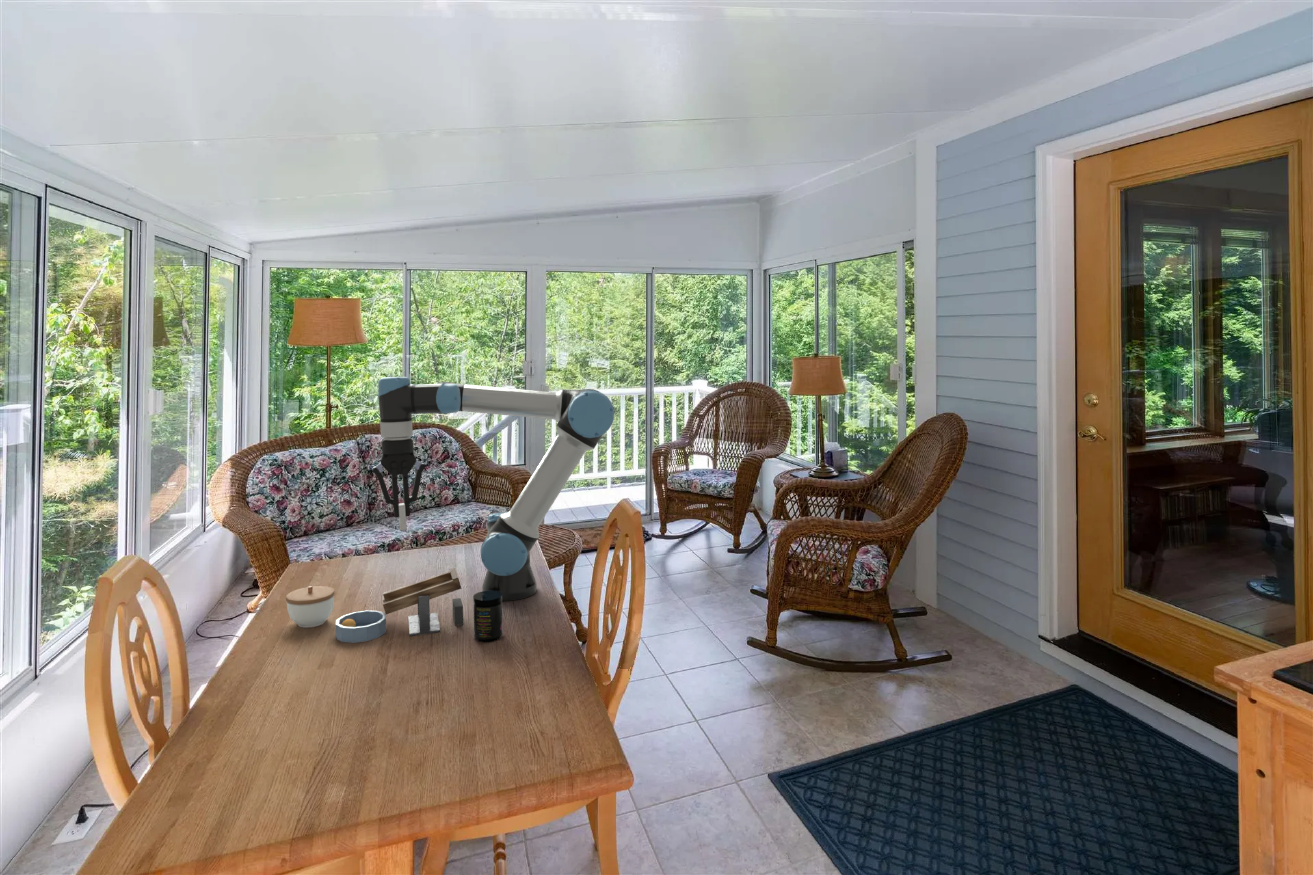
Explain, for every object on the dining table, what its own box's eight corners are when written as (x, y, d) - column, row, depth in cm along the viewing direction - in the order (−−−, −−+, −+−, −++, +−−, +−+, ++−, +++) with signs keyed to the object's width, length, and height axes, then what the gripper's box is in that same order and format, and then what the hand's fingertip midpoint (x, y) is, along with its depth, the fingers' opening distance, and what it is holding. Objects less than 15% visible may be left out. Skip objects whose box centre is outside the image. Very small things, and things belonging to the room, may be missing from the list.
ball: (343, 616, 160) (340, 628, 160) (342, 620, 157) (339, 633, 157) (357, 617, 161) (354, 630, 161) (357, 622, 158) (353, 635, 158)
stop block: (460, 615, 172) (460, 598, 171) (463, 624, 166) (463, 605, 166) (452, 616, 171) (452, 598, 171) (455, 625, 166) (454, 606, 165)
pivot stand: (437, 614, 172) (436, 580, 171) (440, 632, 161) (439, 595, 160) (408, 618, 170) (407, 583, 169) (409, 636, 159) (408, 599, 158)
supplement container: (503, 641, 157) (502, 599, 155) (473, 644, 155) (473, 601, 154) (502, 630, 163) (501, 589, 162) (473, 633, 161) (473, 591, 160)
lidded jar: (315, 633, 160) (313, 595, 159) (277, 629, 162) (275, 592, 161) (344, 616, 170) (343, 581, 169) (308, 613, 172) (306, 578, 171)
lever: (456, 572, 177) (453, 561, 176) (461, 588, 164) (458, 577, 164) (384, 596, 170) (380, 585, 170) (383, 615, 158) (379, 603, 157)
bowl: (386, 621, 168) (385, 608, 167) (386, 638, 157) (385, 624, 157) (338, 627, 163) (337, 613, 163) (334, 645, 153) (334, 630, 153)
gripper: (422, 435, 174) (428, 522, 177) (368, 438, 169) (375, 528, 172) (425, 437, 167) (431, 529, 170) (369, 441, 162) (376, 535, 165)
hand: (403, 529), depth 171 cm, fingers closed
